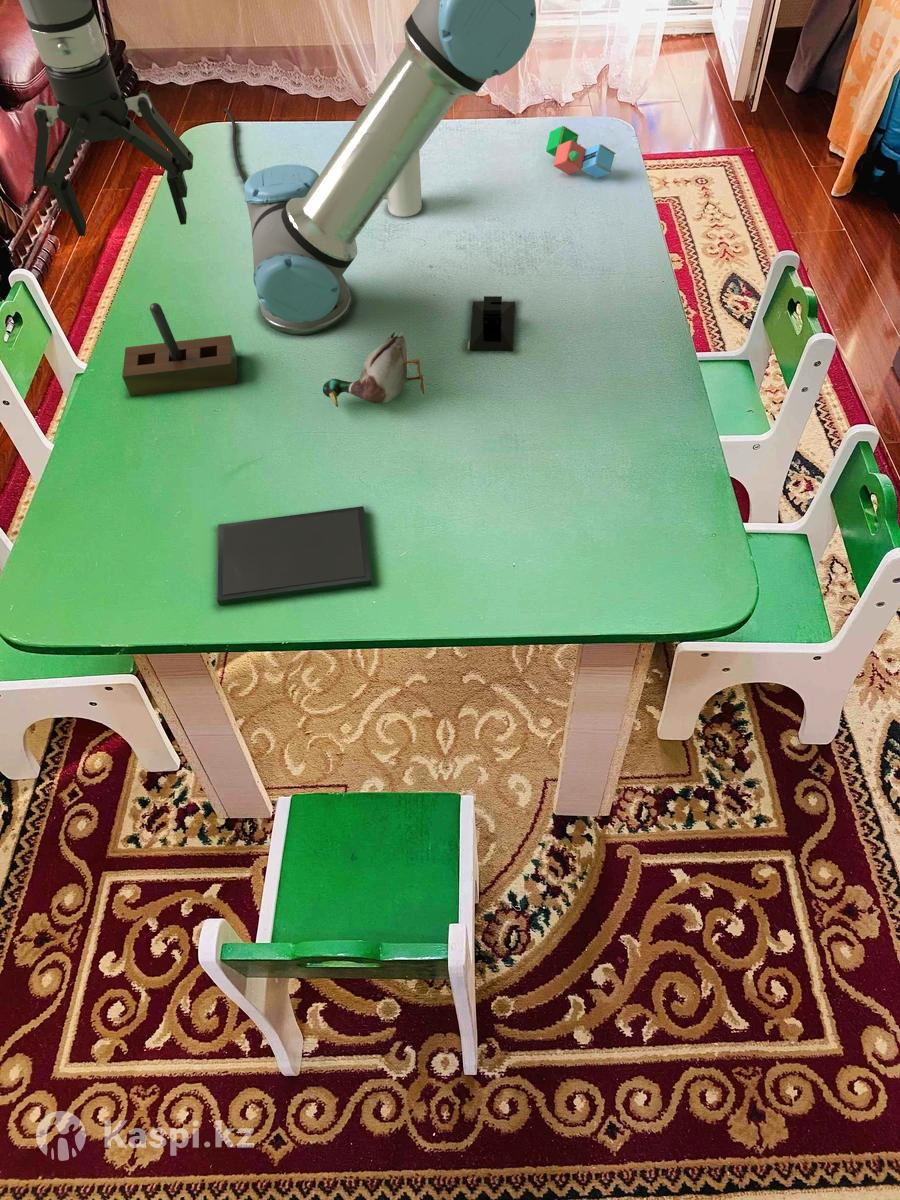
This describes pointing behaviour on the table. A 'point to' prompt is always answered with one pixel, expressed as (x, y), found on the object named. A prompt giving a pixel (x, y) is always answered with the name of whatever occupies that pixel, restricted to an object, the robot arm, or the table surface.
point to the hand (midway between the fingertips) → (133, 225)
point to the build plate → (492, 325)
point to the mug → (406, 191)
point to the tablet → (292, 555)
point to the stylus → (165, 332)
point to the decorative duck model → (378, 374)
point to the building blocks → (578, 154)
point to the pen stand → (180, 366)
